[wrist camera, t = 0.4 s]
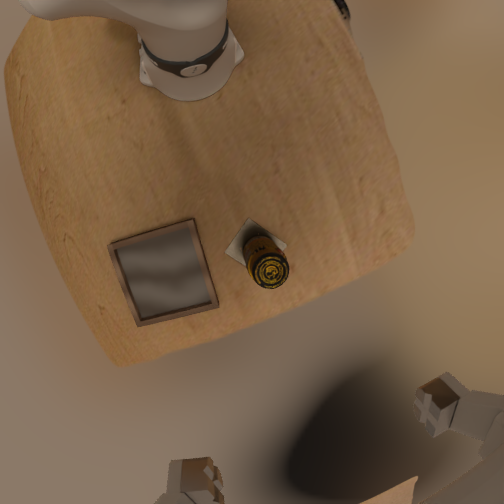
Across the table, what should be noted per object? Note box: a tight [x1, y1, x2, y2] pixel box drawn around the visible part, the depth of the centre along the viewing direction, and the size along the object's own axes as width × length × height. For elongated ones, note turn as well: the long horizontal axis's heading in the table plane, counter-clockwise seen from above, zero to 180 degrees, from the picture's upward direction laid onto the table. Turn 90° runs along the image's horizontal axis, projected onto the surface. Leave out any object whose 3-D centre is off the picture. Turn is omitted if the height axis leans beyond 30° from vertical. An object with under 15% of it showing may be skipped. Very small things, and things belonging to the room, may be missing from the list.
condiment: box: [225, 218, 289, 289], centre depth 46 cm, size 7×8×12 cm
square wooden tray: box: [107, 218, 219, 327], centre depth 50 cm, size 16×16×2 cm
